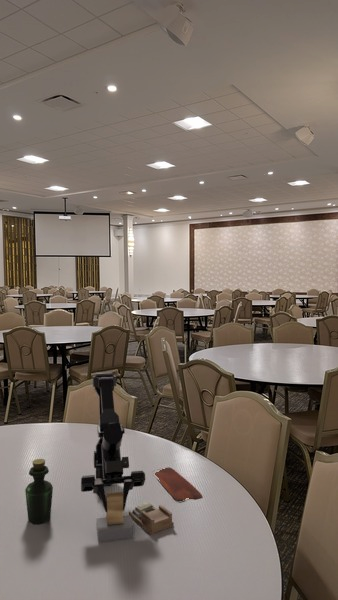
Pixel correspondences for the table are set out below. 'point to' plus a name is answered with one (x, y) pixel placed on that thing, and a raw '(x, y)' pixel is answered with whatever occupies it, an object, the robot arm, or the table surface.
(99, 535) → the plinth
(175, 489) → the wooden tablet
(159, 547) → the table surface
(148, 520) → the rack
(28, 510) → the potion bottle
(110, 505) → the oak block
